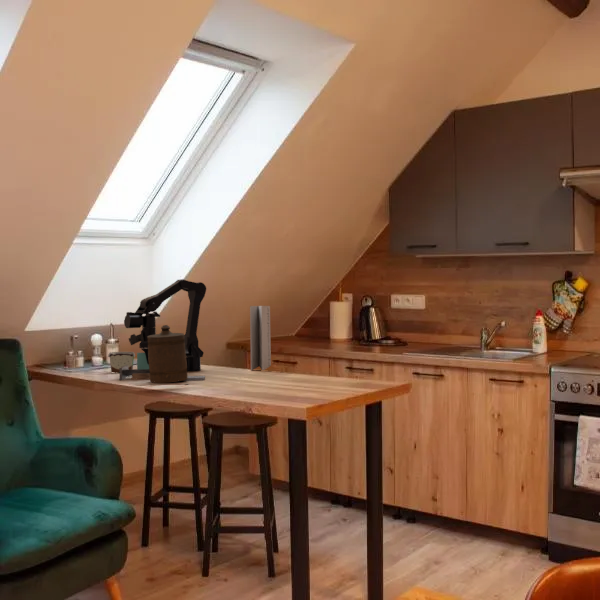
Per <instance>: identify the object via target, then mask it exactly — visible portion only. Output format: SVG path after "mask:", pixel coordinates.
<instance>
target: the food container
mask: <svg viewBox="0 0 600 600" xmlns="http://www.w3.org/2000/svg"><path fill="white" fill-rule="evenodd" d="M107 357H108V358H109V364H110V372H120V370H119V368H121V367H123V366H125V365H128V369H134V361H135V360H134V359H135V358H136V354H135V352H134V351H112V352H111V351H110V352H109V353H108V356H107Z"/></svg>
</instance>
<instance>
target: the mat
mask: <svg viewBox="0 0 600 600" xmlns="http://www.w3.org/2000/svg"><path fill="white" fill-rule="evenodd" d="M205 380H206V375H188V378H187V379H186V380H183V381H182V382H184V381H185V382H186V381H188V382H189V381H205Z"/></svg>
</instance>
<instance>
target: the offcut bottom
mask: <svg viewBox="0 0 600 600" xmlns="http://www.w3.org/2000/svg"><path fill="white" fill-rule="evenodd" d="M130 380H131V381H137V380H143V381H144V380H150V377H144V378H132V377H131V378H130Z"/></svg>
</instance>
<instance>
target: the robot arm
mask: <svg viewBox="0 0 600 600" xmlns="http://www.w3.org/2000/svg"><path fill="white" fill-rule="evenodd" d="M181 290H182V291H184V292H187V297H188V300H189V306H188V314H187V321H186V328H185V329H186V330H185V333H184V337H185V351H186V361H187V372H200V371H201V370H202V369H201V364H202V363H201V358H203V357H204V351H203V350H202V348H200V346H199V338H198V335H197V334H198V333H197V332H198V325H199V316H200V310H201V303H202V302H203V300H204V298H205V296H206V292H207V286H206V284H205V283H204V282H195V281H190V280H186V279H184V278H182V279H181V278H180V279H176V281H174V282H172V283H171V284H170V285H169V286H167V287H165V288H164V289H162V290H161V291H159V292H157V293H156V294H154V295H153V294H152V295H151V296H147V297H145V298H143V299H141V300H140V301H139V302H140V303H139V306H138V308H137V310H135V312H131V311H127V312H126V315H125V317H124V320H123V324H124V327H125V329H140V328H141V329H142V330H140V333H139V334H137V335H136V334H135V333H133V334H131V335H129V336H130V337H129V338H128V342H129V344H130V346H133V345H135V344H137V343H139V347H138V348H139V349H141V351H142V352H143V353H145V355H146V359H147V364H149V356H148V336H150V335H155V334H157V326H156V325H157V323H156V321H157V320H156V318H160V317H161V315H160V314H159V313H158V312H157V309H159V308H160V307H161V305H163V303H164V302H165V301H166V300H168V299H170V298H171V297H173V296H174V295H176V294H177V293H178V292H180V291H181Z"/></svg>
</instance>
